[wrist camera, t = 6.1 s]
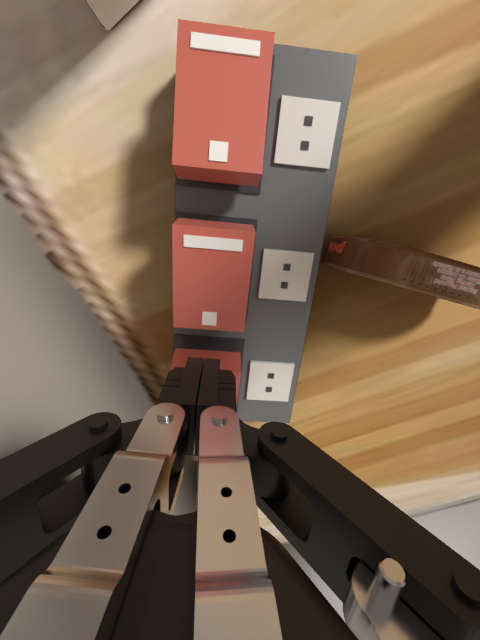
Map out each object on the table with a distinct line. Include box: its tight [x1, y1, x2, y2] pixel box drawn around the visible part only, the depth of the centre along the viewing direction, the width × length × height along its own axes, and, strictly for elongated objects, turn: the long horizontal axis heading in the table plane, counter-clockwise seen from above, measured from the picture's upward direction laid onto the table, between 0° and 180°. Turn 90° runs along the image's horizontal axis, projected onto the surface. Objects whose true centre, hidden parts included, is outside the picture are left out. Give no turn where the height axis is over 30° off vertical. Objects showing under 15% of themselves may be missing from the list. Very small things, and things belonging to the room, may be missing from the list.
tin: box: [322, 235, 480, 309], centre depth 23 cm, size 15×3×8 cm, turn 75°
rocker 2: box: [172, 218, 256, 332], centre depth 20 cm, size 5×7×2 cm
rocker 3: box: [170, 348, 241, 406], centre depth 24 cm, size 5×7×2 cm
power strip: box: [173, 33, 357, 423], centre depth 24 cm, size 11×28×5 cm, turn 175°
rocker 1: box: [172, 19, 275, 187], centre depth 17 cm, size 5×7×2 cm
